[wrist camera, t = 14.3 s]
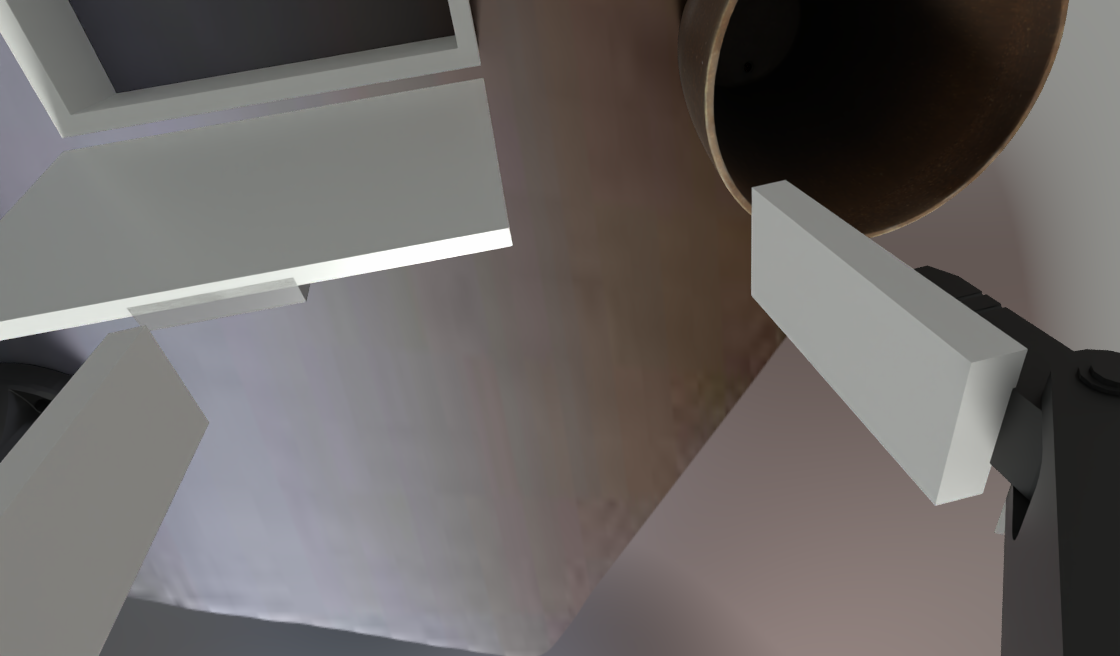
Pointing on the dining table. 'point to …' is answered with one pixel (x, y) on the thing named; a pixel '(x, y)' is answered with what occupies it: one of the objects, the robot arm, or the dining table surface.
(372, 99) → the lid
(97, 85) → the white open tray
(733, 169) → the plant pot
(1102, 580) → the robot arm
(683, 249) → the dining table surface
